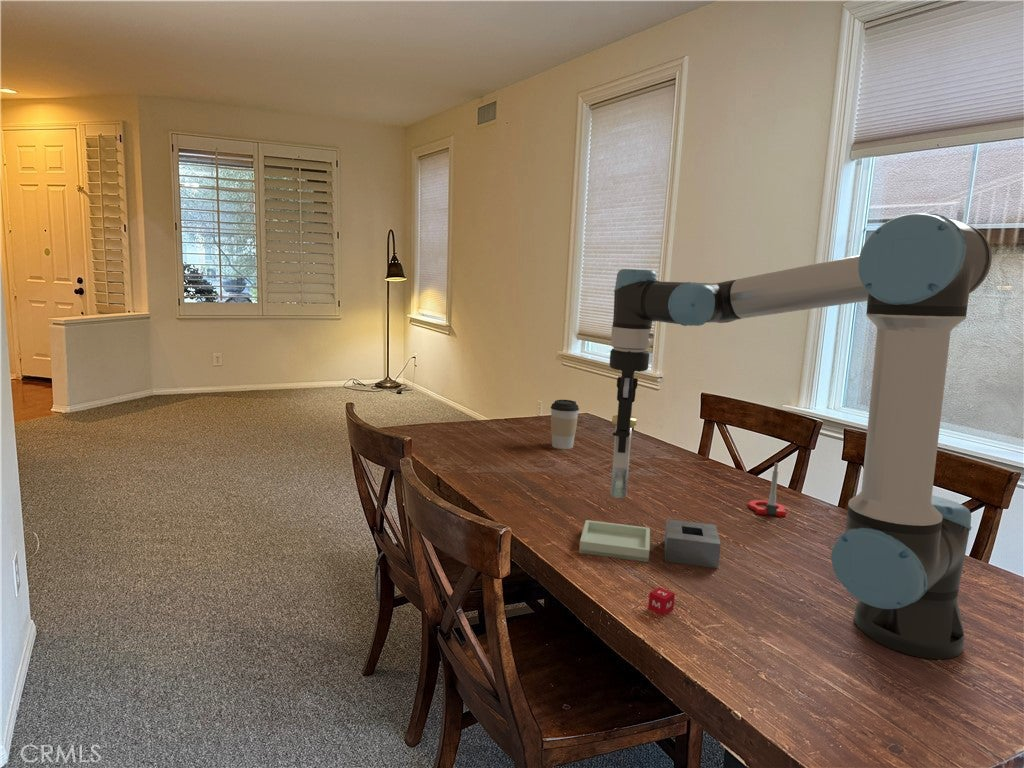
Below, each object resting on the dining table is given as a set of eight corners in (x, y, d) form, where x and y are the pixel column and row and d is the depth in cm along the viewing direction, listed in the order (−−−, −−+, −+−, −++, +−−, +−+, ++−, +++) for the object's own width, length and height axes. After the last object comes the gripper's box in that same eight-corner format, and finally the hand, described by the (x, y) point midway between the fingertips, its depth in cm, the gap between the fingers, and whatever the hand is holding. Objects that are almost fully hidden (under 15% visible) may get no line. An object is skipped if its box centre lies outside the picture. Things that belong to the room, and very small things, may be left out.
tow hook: (745, 503, 164) (753, 514, 155) (750, 453, 162) (758, 462, 153) (779, 506, 163) (789, 518, 154) (785, 456, 161) (796, 465, 152)
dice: (648, 608, 109) (649, 592, 108) (658, 603, 111) (659, 586, 111) (663, 616, 107) (664, 599, 106) (673, 610, 109) (674, 593, 108)
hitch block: (718, 568, 125) (720, 544, 124) (665, 561, 127) (667, 537, 126) (713, 547, 135) (715, 524, 134) (664, 541, 137) (666, 518, 136)
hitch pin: (629, 500, 129) (636, 421, 126) (605, 497, 130) (611, 419, 127) (630, 492, 133) (637, 416, 131) (607, 490, 134) (613, 414, 132)
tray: (648, 562, 126) (649, 550, 126) (579, 552, 129) (579, 541, 129) (648, 538, 138) (649, 527, 137) (585, 530, 140) (585, 519, 140)
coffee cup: (545, 448, 205) (547, 401, 202) (552, 441, 213) (554, 396, 210) (573, 451, 202) (576, 404, 199) (579, 444, 211) (582, 399, 208)
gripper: (649, 355, 118) (638, 479, 122) (649, 346, 133) (640, 455, 138) (607, 352, 119) (598, 474, 123) (613, 343, 135) (605, 451, 139)
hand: (620, 464), depth 130 cm, fingers closed on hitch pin, 3 cm apart
